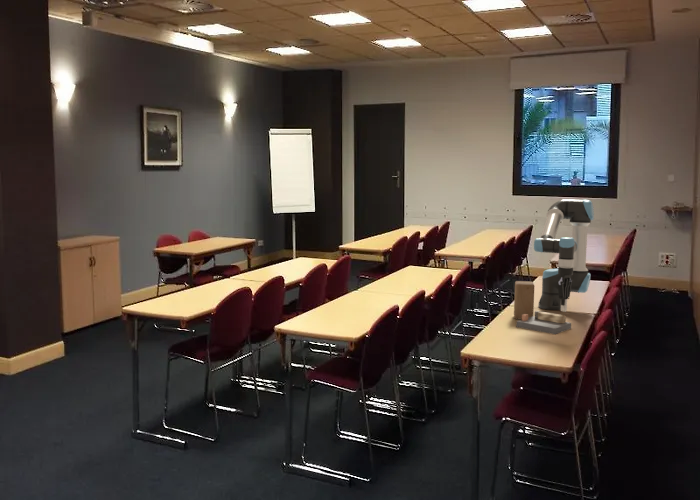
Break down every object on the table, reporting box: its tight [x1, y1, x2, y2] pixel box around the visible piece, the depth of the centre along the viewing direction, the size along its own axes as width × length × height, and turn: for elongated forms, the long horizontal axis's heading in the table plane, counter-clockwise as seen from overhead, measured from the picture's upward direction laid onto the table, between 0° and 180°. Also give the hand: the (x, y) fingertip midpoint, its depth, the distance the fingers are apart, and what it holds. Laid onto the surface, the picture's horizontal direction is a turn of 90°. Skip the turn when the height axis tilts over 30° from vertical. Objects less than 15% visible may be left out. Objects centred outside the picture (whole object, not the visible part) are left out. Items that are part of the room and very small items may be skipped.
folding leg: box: [534, 310, 567, 323], centre depth 348 cm, size 17×4×4 cm, turn 45°
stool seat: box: [515, 314, 572, 335], centre depth 345 cm, size 17×22×6 cm
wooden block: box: [513, 280, 535, 320], centre depth 366 cm, size 10×10×20 cm
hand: (563, 311), depth 349 cm, fingers closed
